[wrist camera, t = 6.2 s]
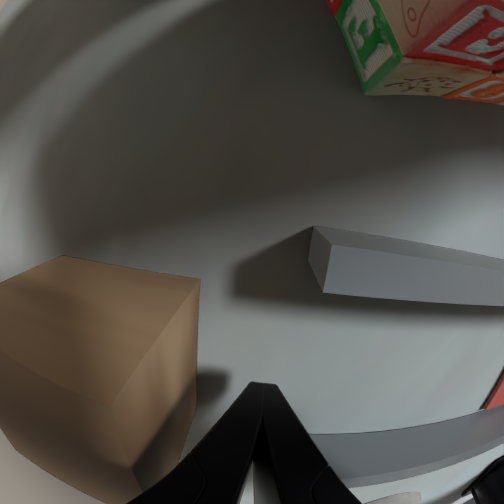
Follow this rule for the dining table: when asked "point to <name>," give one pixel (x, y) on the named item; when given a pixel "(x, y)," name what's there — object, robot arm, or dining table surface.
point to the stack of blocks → (426, 47)
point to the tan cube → (99, 373)
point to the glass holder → (399, 499)
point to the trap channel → (412, 289)
